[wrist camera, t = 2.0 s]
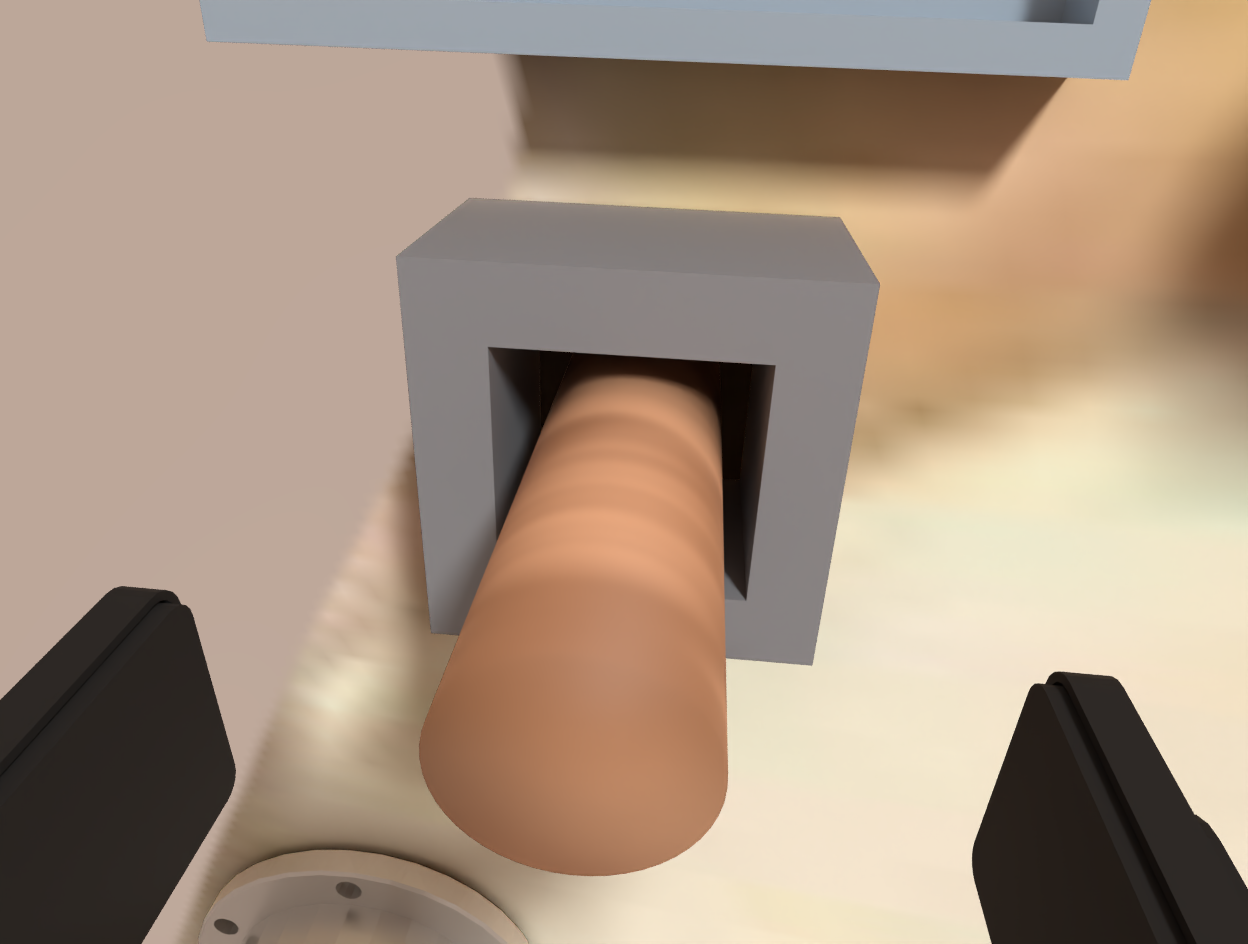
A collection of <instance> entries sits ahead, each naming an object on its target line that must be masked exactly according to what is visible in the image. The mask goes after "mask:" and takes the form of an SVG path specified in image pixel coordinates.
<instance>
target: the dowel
mask: <svg viewBox="0 0 1248 944" xmlns="http://www.w3.org/2000/svg"><path fill="white" fill-rule="evenodd" d="M419 754H420V763H421V768H422V773H423V776H424V779H425V781H426V784H427V787H428V789H429V790H430V792H431V794H432V796H433V798H434V799H435V801H436V803H437V804H438V805H439V807H440V808H441V809H442V811H443V812H444V813H445V814H446V815H447V816H448V817H449V819H450V820H451V821H452V822H453V823H454V824H455V825H456V826H457V827H459V828H460V829H461V830H462V831H463V832H465V833H466V834H467V835H468V836H469V837H471V838H472V839H474V840H475V841H477V842H478V843H480V844H481V845H483V846H484V847H486V848H488V849H490V850H492V851H493V852H495V853H497V854H499V855H501V856H503V857H506V858H508V859H510V860H513V861H515V862H518V863H521V864H524V865H527V866H530V867H533V868H537V869H541V870H545V871H549V872H554V873H561V874H568V875H580V876H608V875H617V874H625V873H630V872H635V871H639V870H644V869H647V868H650V867H653V866H656V865H659V864H661V863H663V862H666V861H668V860H670V859H672V858H674V857H676V856H678V855H679V854H681V853H682V852H684V851H686V850H687V849H689V848H690V847H691V846H693V845H694V844H695V843H696V842H697V841H699V840H700V839H701V838H702V837H703V836H704V835H705V833H706V832H707V831H708V830H709V829H710V828H711V826H712V825H713V823H714V822H715V820H716V819H717V817H718V816H719V813H720V811H721V809H722V806H723V804H724V801H725V796H726V792H727V784H728V754H727V701H726V648H725V595H724V542H723V490H722V437H721V384H720V368H719V363H718V361H702V360H686V359H671V358H655V357H639V356H624V355H608V354H592V353H577V352H573V354H572V357H571V359H570V362H569V364H568V366H567V369H566V371H565V374H564V376H563V379H562V381H561V384H560V386H559V389H558V391H557V394H556V396H555V399H554V401H553V404H552V406H551V409H550V411H549V414H548V416H547V419H546V421H545V424H544V426H543V429H542V431H541V434H540V436H539V438H538V441H537V443H536V446H535V448H534V451H533V453H532V456H531V458H530V461H529V463H528V466H527V468H526V471H525V473H524V476H523V478H522V481H521V483H520V486H519V488H518V491H517V493H516V496H515V498H514V501H513V503H512V506H511V508H510V510H509V513H508V515H507V518H506V520H505V523H504V525H503V528H502V530H501V533H500V535H499V538H498V540H497V543H496V545H495V548H494V550H493V553H492V555H491V558H490V560H489V563H488V565H487V568H486V570H485V573H484V575H483V577H482V580H481V582H480V585H479V587H478V590H477V592H476V595H475V597H474V600H473V602H472V605H471V607H470V610H469V612H468V615H467V617H466V620H465V622H464V625H463V627H462V630H461V632H460V635H459V637H458V640H457V642H456V645H455V647H454V649H453V652H452V654H451V657H450V659H449V662H448V664H447V667H446V669H445V672H444V674H443V677H442V679H441V682H440V684H439V687H438V689H437V692H436V694H435V697H434V699H433V702H432V704H431V707H430V709H429V712H428V714H427V717H426V719H425V722H424V725H423V728H422V731H421V737H420V743H419Z"/></svg>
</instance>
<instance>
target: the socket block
mask: <svg viewBox="0 0 1248 944" xmlns="http://www.w3.org/2000/svg"><path fill="white" fill-rule="evenodd" d="M396 262H397V273H398V284H399V294H400V305H401V315H402V327H403V337H404V348H405V358H406V370H407V380H408V391H409V401H410V413H411V423H412V434H413V445H414V455H415V466H416V477H417V488H418V498H419V509H420V520H421V531H422V541H423V552H424V563H425V573H426V584H427V595H428V606H429V616H430V627H431V633H437V634H449V635H460V632H461V630H462V627H463V625H464V622H465V620H466V617H467V615H468V612H469V610H470V607H471V605H472V602H473V600H474V597H475V595H476V592H477V590H478V587H479V585H480V582H481V580H482V577H483V575H484V573H485V570H486V568H487V565H488V563H489V560H490V558H491V555H492V553H493V550H494V548H495V545H496V543H497V540H498V538H499V535H500V533H501V530H502V528H503V525H504V523H505V520H506V518H507V515H508V513H509V510H510V508H511V506H512V503H513V501H514V498H515V496H516V493H517V491H518V488H519V486H520V483H521V481H522V478H523V476H524V473H525V471H526V468H527V466H528V463H529V461H530V458H531V456H532V453H533V451H534V448H535V446H536V443H537V441H538V438H539V436H540V434H541V410H540V350H545V351H561V352H577V353H592V354H608V355H624V356H639V357H655V358H671V359H686V360H702V361H718V362H733V363H749V364H752V373H751V382H750V391H749V400H748V409H747V418H746V427H745V436H744V445H743V454H742V463H741V472H740V480H736V479H723V478H722V490H723V542H724V595H725V648H726V658H729V659H741V660H753V661H765V662H776V663H788V664H800V665H811V666H812V664H813V659H814V653H815V647H816V642H817V636H818V630H819V625H820V619H821V614H822V608H823V602H824V597H825V591H826V586H827V580H828V574H829V569H830V563H831V557H832V552H833V546H834V541H835V535H836V529H837V524H838V518H839V512H840V507H841V501H842V496H843V490H844V484H845V479H846V473H847V468H848V462H849V456H850V451H851V445H852V439H853V434H854V428H855V423H856V417H857V411H858V406H859V400H860V395H861V389H862V383H863V378H864V372H865V366H866V361H867V355H868V350H869V344H870V338H871V333H872V327H873V322H874V316H875V310H876V305H877V299H878V293H879V288H880V283H879V282H878V280H877V278H876V277H875V275H874V273H873V272H872V270H871V268H870V266H869V265H868V263H867V261H866V260H865V258H864V256H863V255H862V253H861V251H860V250H859V248H858V246H857V245H856V243H855V241H854V240H853V238H852V236H851V235H850V233H849V231H848V230H847V228H846V226H845V225H844V223H843V221H842V220H841V218H840V217H821V216H802V215H783V214H764V213H745V212H726V211H707V210H688V209H669V208H650V207H632V206H613V205H594V204H575V203H556V202H537V201H518V200H499V199H480V198H469V199H468V200H466V201H465V202H464V203H463V204H461V205H460V206H459V207H458V208H456V209H455V210H454V211H452V212H451V213H450V214H449V215H447V216H446V217H445V218H444V219H442V220H441V221H440V222H439V223H437V224H436V225H435V226H434V227H432V228H431V229H430V230H429V231H427V232H426V233H425V234H424V235H422V236H421V237H420V238H419V239H417V240H416V241H415V242H413V243H412V244H411V245H410V246H409V247H407V248H406V249H405V250H404V251H402V252H401V253H400V254H398V255H397V256H396Z"/></svg>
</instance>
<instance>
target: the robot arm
mask: <svg viewBox="0 0 1248 944" xmlns="http://www.w3.org/2000/svg"><path fill="white" fill-rule="evenodd" d="M235 774H236V769H235V763H234V759H233V756H232V752H231V749H230V745H229V742H228V738H227V735H226V731H225V728H224V724H223V720H222V717H221V713H220V710H219V706H218V703H217V699H216V695H215V692H214V688H213V685H212V681H211V678H210V674H209V671H208V668H207V663H206V660H205V656H204V653H203V650H202V646H201V642H200V639H199V635H198V632H197V628H196V625H195V621H194V617H193V614H192V612H191V610H190V608H188V607H187V606H186V605H181V603H180V601H179V599H178V597H177V596H176V595H175V594H174V593H173V592H171V591H167V590H156V589H146V588H136V587H125V586H121V587H117V588H114V589H112V590H111V591H109V592H108V593H107V594H106V595H105V596H104V597H103V598H102V599H101V600H100V601H99V602H98V603H97V604H96V605H95V606H94V607H93V608H92V609H91V610H90V611H89V612H88V613H87V614H86V615H85V616H84V617H83V618H82V619H81V620H80V621H79V622H78V623H77V624H76V625H75V626H74V627H73V628H72V629H71V630H70V631H69V632H68V633H67V634H66V635H65V636H64V637H63V638H62V639H61V640H60V641H59V642H58V643H57V644H56V645H55V646H54V647H53V648H52V649H51V650H50V651H49V652H48V653H47V654H46V655H45V656H44V657H43V658H42V659H41V660H40V661H39V662H38V663H37V664H36V665H35V666H34V667H33V668H32V669H31V670H30V671H29V672H28V673H27V674H26V675H25V676H24V677H23V678H22V679H21V680H20V681H19V682H18V683H17V684H16V685H15V686H14V687H13V688H12V689H11V690H10V691H9V692H8V693H7V694H6V695H5V696H4V697H3V698H2V699H1V700H0V944H142V942H143V940H144V939H145V937H146V935H147V934H148V932H149V930H150V929H151V927H152V925H153V924H154V922H155V920H156V919H157V917H158V915H159V914H160V912H161V910H162V909H163V907H164V905H165V904H166V902H167V900H168V899H169V897H170V895H171V894H172V892H173V890H174V889H175V887H176V885H177V884H178V882H179V880H180V879H181V877H182V876H183V874H184V872H185V871H186V869H187V867H188V866H189V864H190V862H191V860H192V859H193V857H194V855H195V854H196V852H197V851H198V849H199V847H200V846H201V844H202V842H203V841H204V839H205V837H206V836H207V834H208V832H209V831H210V829H211V827H212V826H213V824H214V822H215V821H216V819H217V817H218V816H219V814H220V812H221V811H222V809H223V807H224V806H225V804H226V802H227V801H228V799H229V797H230V795H231V792H232V789H233V786H234V782H235ZM972 868H973V876H974V880H975V884H976V888H977V892H978V895H979V899H980V903H981V906H982V910H983V914H984V917H985V921H986V925H987V928H988V932H989V935H990V939H991V943H992V944H1248V888H1247V887H1246V885H1245V883H1244V881H1243V880H1242V878H1241V876H1240V874H1239V873H1238V871H1237V869H1236V867H1235V866H1234V864H1233V862H1232V860H1231V859H1230V857H1229V855H1228V853H1227V852H1226V850H1225V848H1224V846H1223V845H1222V843H1221V841H1220V839H1219V838H1218V837H1217V835H1216V834H1215V832H1214V831H1213V830H1212V828H1211V827H1210V826H1209V824H1208V823H1206V822H1205V821H1204V820H1202V819H1201V818H1200V817H1199V816H1197V815H1194V813H1193V811H1192V809H1191V808H1190V806H1189V804H1188V802H1187V800H1186V799H1185V797H1184V795H1183V793H1182V792H1181V790H1180V788H1179V786H1178V784H1177V783H1176V781H1175V779H1174V777H1173V775H1172V774H1171V772H1170V770H1169V768H1168V766H1167V765H1166V763H1165V761H1164V759H1163V757H1162V756H1161V754H1160V752H1159V750H1158V748H1157V747H1156V745H1155V743H1154V741H1153V739H1152V738H1151V736H1150V734H1149V732H1148V731H1147V729H1146V727H1145V725H1144V723H1143V722H1142V720H1141V718H1140V716H1139V714H1138V713H1137V711H1136V709H1135V707H1134V705H1133V704H1132V702H1131V700H1130V698H1129V696H1128V695H1127V693H1126V691H1125V689H1124V687H1123V686H1122V685H1121V683H1120V682H1119V681H1118V680H1117V679H1115V678H1114V677H1112V676H1103V675H1092V674H1081V673H1070V672H1054V673H1052V674H1051V675H1050V676H1049V678H1048V680H1047V682H1046V684H1034V685H1033V686H1032V687H1031V688H1030V690H1029V692H1028V695H1027V698H1026V701H1025V703H1024V706H1023V709H1022V712H1021V714H1020V717H1019V720H1018V723H1017V726H1016V728H1015V731H1014V734H1013V737H1012V739H1011V742H1010V745H1009V748H1008V750H1007V753H1006V756H1005V759H1004V762H1003V764H1002V767H1001V770H1000V773H999V775H998V778H997V781H996V784H995V787H994V789H993V792H992V795H991V798H990V800H989V803H988V806H987V809H986V812H985V814H984V817H983V820H982V823H981V825H980V828H979V831H978V834H977V837H976V839H975V842H974V846H973V853H972ZM198 944H529V943H528V941H527V940H526V938H525V937H524V935H523V933H522V932H521V931H520V929H519V928H518V927H517V926H516V925H515V924H514V923H513V922H512V921H511V920H510V919H509V918H508V917H507V916H506V915H505V914H504V913H503V912H502V911H501V910H500V909H499V908H498V907H496V906H495V905H494V904H492V903H491V902H490V901H488V900H487V899H486V898H484V897H483V896H482V895H480V894H479V893H478V892H476V891H475V890H473V889H471V888H469V887H467V886H466V885H464V884H462V883H460V882H458V881H457V880H455V879H453V878H451V877H449V876H447V875H445V874H442V873H440V872H437V871H435V870H432V869H430V868H427V867H425V866H422V865H419V864H417V863H413V862H410V861H406V860H402V859H398V858H394V857H391V856H387V855H383V854H376V853H368V852H361V851H353V850H311V851H304V852H297V853H290V854H284V855H280V856H277V857H274V858H271V859H268V860H265V861H262V862H259V863H256V864H255V865H253V866H251V867H249V868H248V869H246V870H244V871H242V872H241V873H239V874H237V875H236V876H235V877H234V878H233V879H232V880H231V881H230V882H229V883H228V884H227V885H226V886H225V887H224V888H223V889H222V890H221V891H220V892H219V894H218V896H217V898H216V899H215V901H214V903H213V905H212V906H211V908H210V910H209V912H208V913H207V915H206V917H205V918H204V921H203V924H202V927H201V931H200V934H199V937H198Z"/></svg>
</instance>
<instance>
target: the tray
mask: <svg viewBox="0 0 1248 944" xmlns="http://www.w3.org/2000/svg"><path fill="white" fill-rule="evenodd" d="M1150 2H1151V0H200V6H201V11H202V17H203V23H204V29H205V34H206V40H207V41H209V42H233V43H257V44H258V43H259V44H280V45H305V46H328V47H353V48H376V49H400V50H425V51H448V52H471V53H495V54H518V55H542V56H566V57H590V58H614V59H638V60H661V61H685V62H709V63H733V64H757V65H780V66H804V67H828V68H852V69H876V70H899V71H923V72H947V73H971V74H995V75H1018V76H1042V77H1066V78H1090V79H1114V80H1128V79H1129V76H1130V72H1131V69H1132V65H1133V62H1134V58H1135V55H1136V51H1137V48H1138V44H1139V41H1140V37H1141V34H1142V30H1143V27H1144V23H1145V20H1146V16H1147V13H1148V9H1149V6H1150Z"/></svg>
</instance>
